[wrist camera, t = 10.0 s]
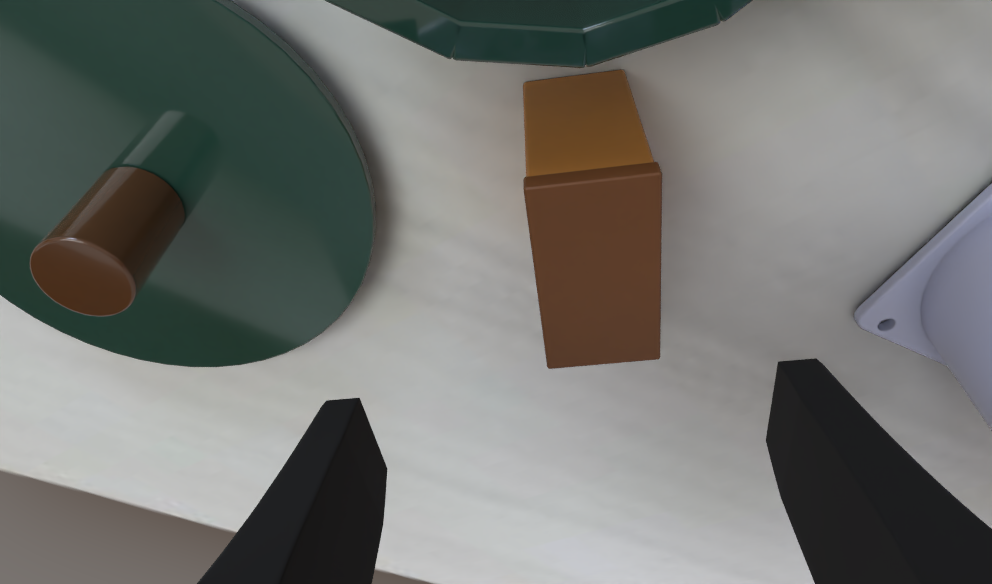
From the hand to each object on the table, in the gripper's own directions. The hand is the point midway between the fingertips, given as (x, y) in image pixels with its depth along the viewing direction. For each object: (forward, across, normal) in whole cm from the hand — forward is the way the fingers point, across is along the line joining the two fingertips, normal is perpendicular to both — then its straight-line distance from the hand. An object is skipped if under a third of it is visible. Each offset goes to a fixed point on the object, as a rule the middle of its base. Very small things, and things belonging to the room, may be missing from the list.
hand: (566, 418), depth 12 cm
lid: (+9, +11, -1) cm, 14 cm away
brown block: (+9, -1, 0) cm, 9 cm away
